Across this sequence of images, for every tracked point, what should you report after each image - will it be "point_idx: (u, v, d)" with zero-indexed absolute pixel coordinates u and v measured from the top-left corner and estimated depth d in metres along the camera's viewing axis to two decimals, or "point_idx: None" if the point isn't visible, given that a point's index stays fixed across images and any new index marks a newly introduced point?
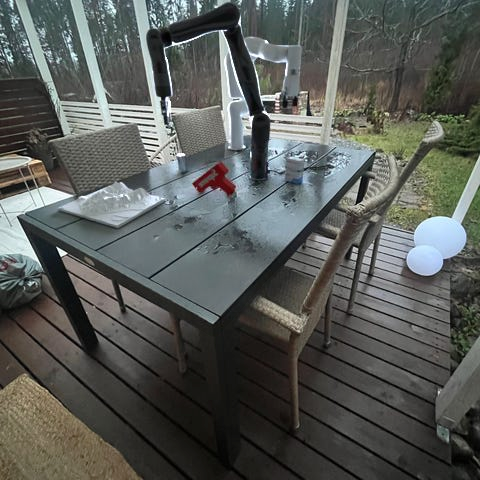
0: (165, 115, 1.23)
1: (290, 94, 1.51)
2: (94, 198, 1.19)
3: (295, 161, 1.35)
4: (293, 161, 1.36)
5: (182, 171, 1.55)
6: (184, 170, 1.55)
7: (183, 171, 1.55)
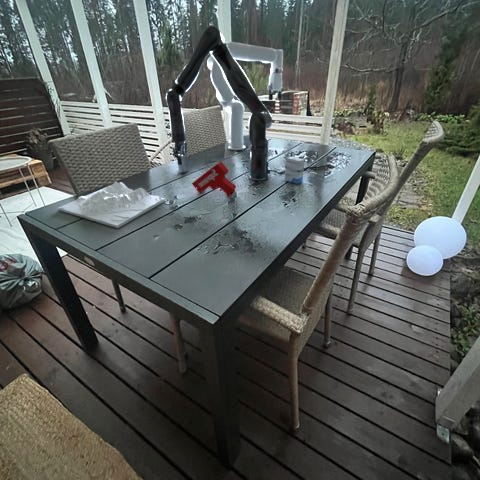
0: None
1: (274, 89, 1.88)
2: (94, 198, 1.19)
3: (295, 161, 1.35)
4: (293, 161, 1.36)
5: (182, 171, 1.55)
6: (184, 170, 1.55)
7: (183, 171, 1.55)
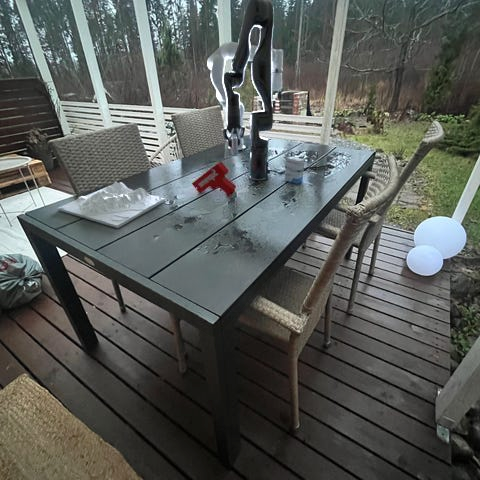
0: None
1: (274, 89, 1.88)
2: (94, 198, 1.19)
3: (295, 161, 1.35)
4: (293, 161, 1.36)
5: (231, 154, 1.59)
6: (233, 153, 1.58)
7: (232, 154, 1.59)
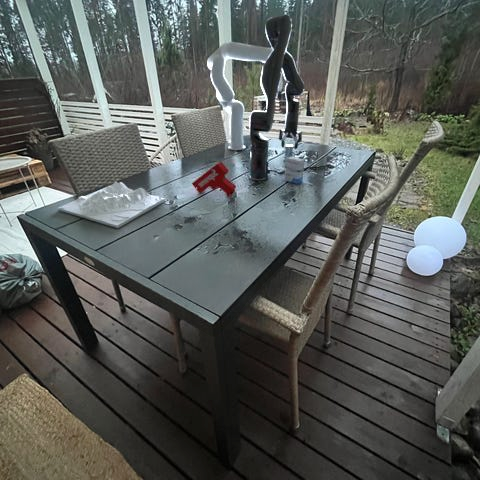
0: None
1: None
2: (94, 198, 1.19)
3: (295, 161, 1.35)
4: (293, 161, 1.36)
5: None
6: None
7: None
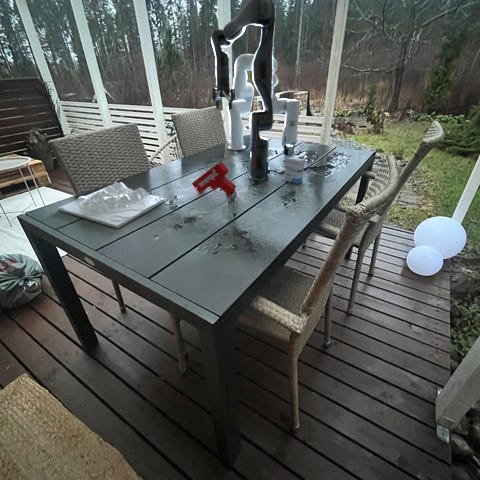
0: None
1: (289, 142, 1.64)
2: (94, 198, 1.19)
3: (295, 161, 1.35)
4: (293, 161, 1.36)
5: None
6: None
7: None
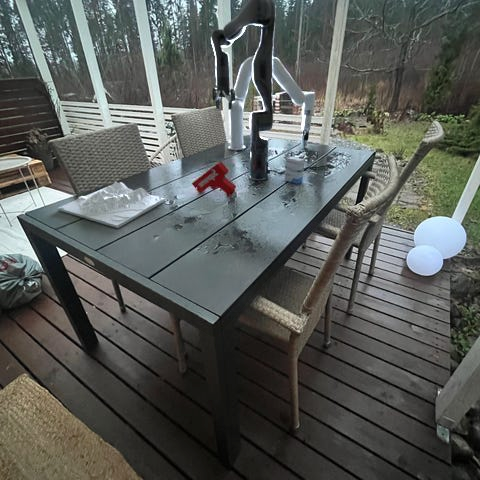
0: None
1: None
2: (94, 198, 1.19)
3: (295, 161, 1.35)
4: (293, 161, 1.36)
5: (301, 147, 2.00)
6: (302, 146, 1.99)
7: (301, 147, 1.99)
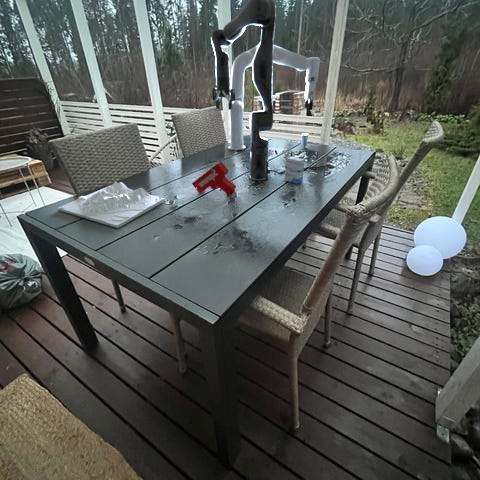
0: None
1: None
2: (94, 198, 1.19)
3: (295, 161, 1.35)
4: (293, 161, 1.36)
5: (301, 147, 2.00)
6: (302, 146, 1.99)
7: (301, 147, 1.99)
